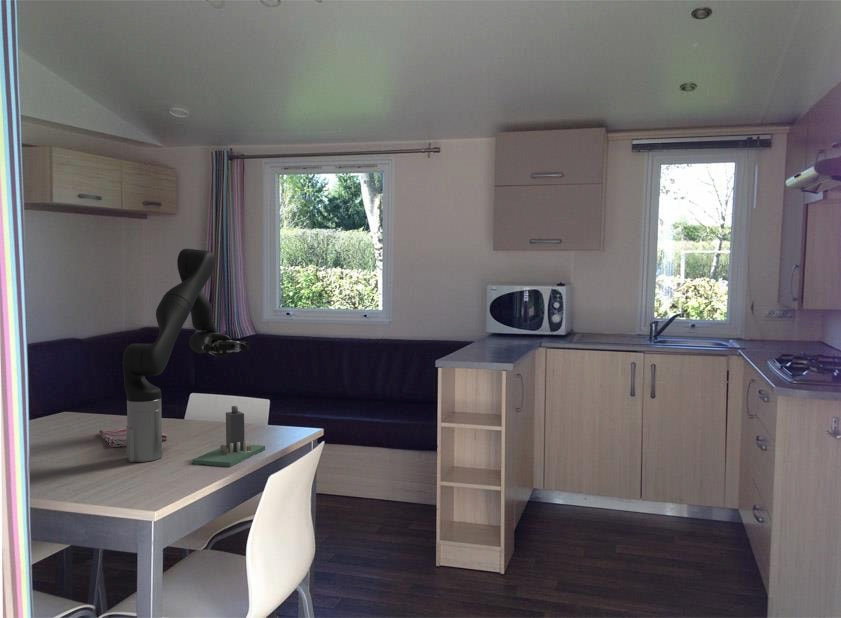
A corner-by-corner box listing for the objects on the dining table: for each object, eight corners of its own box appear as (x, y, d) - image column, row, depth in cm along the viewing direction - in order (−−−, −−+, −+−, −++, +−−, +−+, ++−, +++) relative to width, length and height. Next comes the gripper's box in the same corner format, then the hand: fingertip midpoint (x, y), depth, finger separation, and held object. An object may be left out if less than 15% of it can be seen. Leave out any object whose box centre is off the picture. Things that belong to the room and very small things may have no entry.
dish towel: (111, 450, 212) (110, 438, 212) (98, 435, 232) (97, 425, 232) (168, 443, 222) (168, 432, 222) (151, 429, 241) (151, 420, 241)
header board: (230, 466, 192) (230, 451, 192) (192, 463, 195) (192, 448, 195) (265, 449, 211) (265, 436, 211) (230, 447, 214) (229, 433, 214)
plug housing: (231, 452, 203) (230, 408, 202) (226, 449, 207) (225, 405, 207) (244, 450, 205) (243, 406, 204) (239, 447, 209) (238, 404, 209)
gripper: (196, 334, 228) (209, 337, 214) (239, 332, 236) (254, 335, 222) (196, 356, 229) (209, 361, 215) (239, 354, 236) (254, 359, 222)
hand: (232, 348), depth 218 cm, fingers open, 8 cm apart
